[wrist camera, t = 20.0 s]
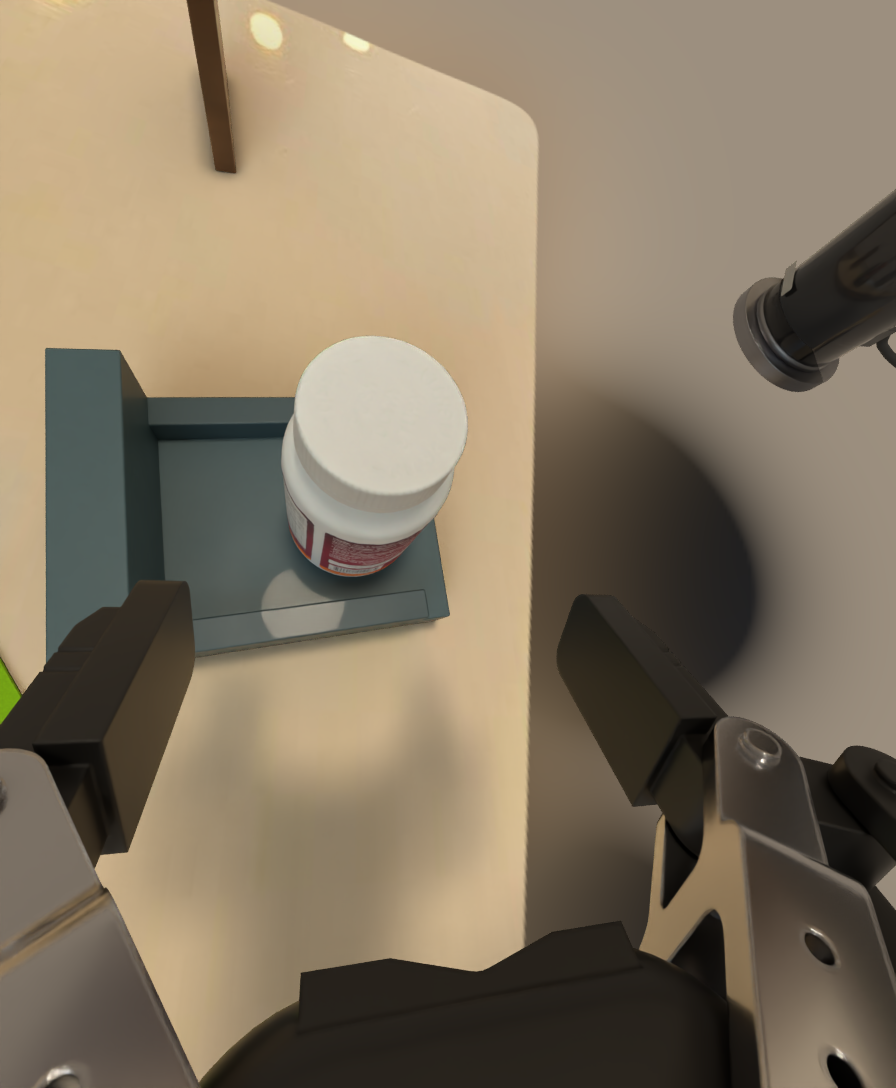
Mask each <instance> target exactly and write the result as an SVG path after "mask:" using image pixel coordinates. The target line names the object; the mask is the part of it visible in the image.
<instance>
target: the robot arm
mask: <svg viewBox="0 0 896 1088" xmlns="http://www.w3.org/2000/svg"><path fill="white" fill-rule="evenodd" d="M796 262H797V261H795V262H794V263H793V264H792V265H791V266H789V267H788V268H787V269H786V271H785V277H784V278H783V279H782V280H780V281H779V282H778V283H777V284H775V285H773V286H771V287H770V288H769V289H768V290H766V291H765V292H764V293H763V294H762V295H761V297H760V298H759V300H758V304H757V320H758V324H759V328H760V330H761V333H762V335H763V337H764V339H765V341H766V342H767V344H768V345H769V347H770V348H771V349H772V351H773V352H774V353H775V354H776V355H777V356H778V357H779V358H780V359H781V360H782V361H784V362H785V363H786V364H788V365H789V366H791V367H793V368H795V369H797V370H800V371H804V372H815V371H818V370H820V369H822V368H824V367H826V366H828V365H829V364H830V363H831V362H832V361H834V360H836V359H838V358H839V357H841V356H843V355H845V354H846V353H848V352H850V351H852V350H854V349H855V348H857V347H859V346H866V347H868V346H871V345H873V344H875V343H876V344H877V348H878V350H879V351H880V352H881V354H882V355H883V357H884V358H885V359H886V360H887V361H888V362H889V363H891V364H892V365H893V366H894V367H895V368H896V353H894V352H893V350H892V349H891V348H890V346H889V345H888V339H889V337H890V335H891V334H893V333H895V332H896V327H895V326H896V189H895V190H894V191H892V192H891V193H890V194H889V195H887V196H886V197H885V198H884V199H882V200H881V201H880V202H879V203H877V204H876V205H875V206H874V207H872V208H871V209H870V210H869V211H868V212H866V213H865V214H864V215H862V216H861V217H860V218H859V219H857V220H856V221H855V222H854V223H852V224H851V225H850V226H848V227H847V228H846V229H845V230H843V231H842V232H841V233H840V234H838V235H837V236H836V237H835V238H833V239H832V240H831V241H830V242H828V243H827V244H826V245H825V246H823V247H822V248H821V249H820V250H818V251H817V252H816V253H815V254H813V255H812V256H811V257H810V258H808V259H807V260H806V261H804V262H803V263H802V264H801V265H799V266H798V267H797V268H795V267H796ZM194 660H195V641H194V630H193V619H192V609H191V598H190V589H189V585H188V583H187V582H186V581H167V580H139V581H138V582H137V583H136V584H135V586H134V587H133V589H132V590H131V592H130V593H129V595H128V597H127V598H126V600H125V601H124V603H123V604H122V606H121V607H101V608H100V609H98V610H97V611H95V612H94V613H92V614H91V615H89V616H88V617H86V618H85V619H83V620H82V621H80V622H79V623H77V624H76V625H75V626H74V627H73V628H72V630H71V631H70V632H69V634H68V635H67V636H66V638H65V639H64V640H63V642H62V643H61V644H60V646H59V647H58V652H54V654H53V655H52V656H51V658H50V659H49V660H48V662H47V663H46V664H45V666H44V670H43V672H39V674H38V675H37V676H36V678H35V679H34V680H33V682H32V683H31V684H30V686H29V687H28V688H27V690H26V691H25V692H24V694H23V695H22V696H21V698H20V699H19V700H18V702H17V703H16V704H15V706H14V707H13V708H12V710H11V711H10V712H9V714H8V715H7V716H6V718H5V719H4V720H3V722H2V723H1V724H0V1088H896V910H895V909H894V908H893V906H891V904H890V903H889V902H888V900H887V899H886V898H885V897H884V896H883V894H882V893H881V892H880V891H879V890H878V888H877V887H876V886H875V885H876V884H877V883H878V882H879V881H880V880H881V879H882V878H883V877H884V876H885V875H886V874H887V873H888V872H889V871H890V870H891V869H892V868H893V867H894V866H895V865H896V759H894V758H893V757H891V756H889V755H887V754H885V753H882V752H880V751H877V750H875V749H871V748H868V747H864V746H850V747H848V748H846V750H844V752H843V753H842V754H841V755H840V757H839V758H838V759H837V761H836V762H835V763H834V764H833V765H832V764H828V763H823V762H819V761H815V760H811V759H806V758H803V757H799V756H798V755H797V754H796V752H795V751H794V750H793V749H792V748H791V747H790V746H789V745H788V744H787V743H786V742H785V741H784V740H783V739H781V738H780V737H779V736H778V735H776V734H775V733H773V732H772V731H770V730H769V729H767V728H765V727H764V726H762V725H759V724H757V723H755V722H753V721H750V720H747V719H744V718H740V717H728V715H727V714H726V713H725V712H724V711H723V710H722V709H721V708H720V706H719V705H718V704H717V703H716V702H715V701H714V700H713V698H712V697H711V696H710V695H709V694H708V693H707V691H706V690H705V689H704V688H703V687H702V686H701V685H700V684H699V682H698V681H697V680H696V679H695V678H694V677H693V676H692V674H691V673H690V672H689V671H688V670H687V669H686V668H685V667H684V666H681V662H680V661H679V660H678V659H677V657H676V656H675V655H674V654H673V653H672V652H669V649H668V647H667V646H666V645H665V644H664V643H663V641H662V640H661V639H660V638H659V637H658V636H657V635H656V634H655V632H653V631H652V630H650V629H649V628H648V627H646V626H645V625H644V624H642V623H641V622H639V621H638V620H636V619H635V618H633V617H632V616H631V615H630V614H629V612H628V611H627V610H626V609H625V608H624V607H623V605H622V604H621V603H620V602H619V601H618V600H617V599H616V598H615V597H614V596H611V595H584V594H581V595H579V596H577V597H576V598H575V600H574V602H573V605H572V607H571V611H570V613H569V616H568V619H567V622H566V625H565V628H564V630H563V633H562V636H561V639H560V642H559V645H558V649H557V667H558V671H559V673H560V676H561V677H562V679H563V681H564V683H565V685H566V686H567V688H568V690H569V692H570V694H571V696H572V697H573V699H574V701H575V703H576V705H577V707H578V708H579V710H580V712H581V714H582V716H583V717H584V719H585V721H586V723H587V725H588V726H589V728H590V730H591V732H592V733H593V736H594V737H595V739H596V741H597V743H598V745H599V746H600V748H601V750H602V752H603V753H604V755H605V757H606V759H607V761H608V763H609V765H610V766H611V768H612V770H613V772H614V774H615V775H616V777H617V779H618V781H619V783H620V784H621V786H622V788H623V790H624V791H625V794H626V795H627V797H628V799H629V801H630V803H631V804H632V806H633V807H635V806H646V805H656V804H658V806H659V808H660V809H661V811H662V815H661V817H660V818H659V820H658V822H657V827H656V837H655V850H654V861H653V873H652V886H651V897H650V909H649V919H648V924H647V928H646V932H645V935H644V938H643V940H642V943H641V946H640V949H639V950H638V949H635V948H632V945H631V943H630V941H629V938H628V936H627V934H626V931H625V929H624V927H623V925H622V922H621V921H617V922H611V923H604V924H598V925H592V926H586V927H580V928H574V929H568V930H561V931H556V932H551V933H549V934H548V935H546V936H544V937H543V938H541V939H539V940H538V941H536V942H534V943H532V944H530V945H529V946H527V947H525V948H523V949H521V950H520V951H518V952H516V953H514V954H513V955H511V956H509V957H507V958H506V959H504V960H502V961H500V962H499V963H497V964H495V965H493V966H492V967H490V968H488V969H486V970H483V971H478V972H475V971H466V970H460V969H454V968H447V967H441V966H435V965H429V964H422V963H416V962H410V961H404V960H398V959H391V958H389V959H383V960H377V961H371V962H364V963H358V964H352V965H346V966H340V967H334V968H327V969H321V970H315V971H309V972H303V973H301V978H300V995H299V1001H297V1002H295V1003H293V1004H292V1005H290V1006H288V1007H286V1008H284V1009H282V1010H280V1011H278V1012H276V1013H275V1014H274V1015H272V1016H271V1017H269V1018H268V1019H266V1020H265V1021H263V1022H262V1023H260V1024H259V1025H258V1026H256V1027H255V1028H253V1029H252V1030H251V1031H250V1032H249V1033H247V1034H246V1035H245V1036H244V1037H243V1038H242V1039H240V1040H239V1041H238V1042H237V1043H236V1044H235V1045H233V1046H232V1047H231V1048H230V1049H229V1050H228V1051H227V1052H226V1053H225V1054H224V1055H223V1056H222V1057H221V1058H220V1059H219V1061H218V1062H217V1063H216V1064H215V1065H214V1066H213V1067H212V1068H211V1069H210V1070H209V1071H208V1072H207V1073H206V1074H205V1076H204V1077H203V1078H202V1079H201V1081H200V1082H199V1083H198V1080H197V1078H196V1076H195V1074H194V1072H193V1070H192V1067H191V1065H190V1063H189V1061H188V1059H187V1057H186V1054H185V1052H184V1050H183V1048H182V1046H181V1044H180V1041H179V1039H178V1037H177V1035H176V1033H175V1031H174V1028H173V1026H172V1024H171V1022H170V1020H169V1018H168V1015H167V1013H166V1011H165V1009H164V1007H163V1005H162V1002H161V1000H160V998H159V996H158V994H157V992H156V990H155V987H154V985H153V983H152V981H151V979H150V977H149V974H148V972H147V970H146V968H145V966H144V964H143V961H142V959H141V957H140V955H139V953H138V951H137V948H136V946H135V944H134V942H133V940H132V938H131V935H130V933H129V931H128V929H127V927H126V925H125V922H124V920H123V918H122V916H121V914H120V912H119V909H118V907H117V905H116V903H115V901H114V899H113V897H112V896H111V894H110V892H109V890H108V889H107V888H103V886H102V884H101V882H100V880H99V878H98V876H97V874H96V872H95V867H96V864H97V862H98V859H99V857H100V855H104V854H115V853H125V852H128V850H129V848H130V845H131V842H132V839H133V837H134V834H135V831H136V828H137V826H138V823H139V820H140V817H141V815H142V812H143V809H144V806H145V804H146V801H147V798H148V795H149V793H150V790H151V787H152V784H153V782H154V779H155V776H156V773H157V771H158V768H159V765H160V762H161V760H162V757H163V754H164V751H165V749H166V746H167V743H168V740H169V738H170V735H171V732H172V729H173V727H174V724H175V721H176V718H177V716H178V713H179V710H180V707H181V705H182V702H183V699H184V696H185V694H186V691H187V688H188V685H189V683H190V680H191V677H192V672H193V667H194Z"/></svg>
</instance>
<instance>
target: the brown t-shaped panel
mask: <svg viewBox="0 0 896 1088" xmlns="http://www.w3.org/2000/svg"><path fill="white" fill-rule="evenodd" d="M187 5H188V11H189V17H190V23H191V29H192V35H193V41H194V47H195V52H196V58H197V64H198V70H199V76H200V82H201V88H202V94H203V99H204V105H205V111H206V117H207V123H208V129H209V135H210V141H211V146H212V152H213V158H214V164H215V169H216V170H217V171H224V172H232V173H236V167H235V156H234V146H233V135H232V125H231V114H230V104H229V94H228V83H227V73H226V65H225V57H224V49H223V41H222V33H221V25H220V17H219V9H218V1H217V0H187Z"/></svg>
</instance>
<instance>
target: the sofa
mask: <svg viewBox="0 0 896 1088" xmlns="http://www.w3.org/2000/svg"><path fill="white" fill-rule="evenodd" d="M294 403H295V397H159V398H147V397H146V395H145V393H144V392H143V390H142V388H141V386H140V385H139V383H138V381H137V379H136V378H135V376H134V374H133V372H132V371H131V369H130V367H129V365H128V364H127V362H126V360H125V358H124V357H123V355H122V353H121V351H120V350H99V349H61V348H46V349H45V429H46V663H47V662H48V660H49V659H50V658H51V656H52V655H53V654H54V652H58V647H59V646H60V644H61V643H62V642H63V640H64V639H65V638H66V636H67V635H68V634H69V632H70V631H71V630H72V628H73V627H74V626H75V625H76V624H77V623H79V622H80V621H82V620H83V619H85V618H86V617H88V616H89V615H91V614H92V613H94V612H95V611H97V610H98V609H100V608H101V607H121V606H122V604H123V603H124V601H125V600H126V598H127V597H128V595H129V593H130V592H131V590H132V589H133V587H134V586H135V584H136V583H137V582H138V581H139V580H167V581H186V582H187V583H188V585H189V589H190V598H191V609H192V619H193V630H194V641H195V658H196V657H202V656H209V655H215V654H222V653H228V652H235V651H241V650H248V649H254V648H261V647H267V646H274V645H280V644H287V643H293V642H300V641H306V640H313V639H319V638H326V637H332V636H339V635H345V634H352V633H358V632H365V631H371V630H378V629H384V628H391V627H397V626H404V625H410V624H417V623H423V622H430V621H435V620H438V619H441V618H444V617H448V616H449V615H450V613H449V607H448V601H447V595H446V588H445V582H444V576H443V570H442V564H441V558H440V552H439V546H438V540H437V534H436V528H435V521H434V518H433V519H432V520H431V521H430V522H429V523H428V525H427V526H426V527H425V528H424V529H423V530H422V531H421V532H420V533H419V534H418V535H417V537H416V538H415V539H414V540H413V541H412V542H411V544H410V545H409V546H408V547H407V548H406V549H405V550H404V551H403V553H402V554H401V555H400V556H399V557H398V558H397V559H396V560H395V561H394V562H392V563H391V564H390V565H388V566H387V567H385V568H383V569H382V570H380V571H378V572H375V573H372V574H369V575H365V576H358V577H346V576H339V575H334V574H332V573H329V572H326V571H324V570H322V569H320V568H319V567H317V566H316V565H314V564H313V563H311V562H310V561H309V560H308V559H307V558H306V557H305V556H304V555H303V554H302V553H301V551H300V550H299V549H298V547H297V545H296V544H295V542H294V540H293V538H292V535H291V532H290V528H289V523H288V518H287V509H286V500H285V490H284V481H283V473H282V469H281V456H282V444H283V438H284V434H285V431H286V428H287V425H288V423H289V421H290V419H291V417H292V416H293V414H294Z"/></svg>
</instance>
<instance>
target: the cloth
mask: <svg viewBox="0 0 896 1088" xmlns="http://www.w3.org/2000/svg"><path fill="white" fill-rule="evenodd" d="M21 696H22V695H21V693H20V691H19V690H18V688H17V686H16V684H15V683H14V681H13V679H12V678H11V676H10V674H9V672H8V670H7V669H6V667H5V665H4V663H3V662H2V660H1V658H0V724H1V723H2V722H3V720H4V719H5V718H6V716H7V715H8V714H9V712H10V711H11V710H12V708H13V707H14V706H15V704H16V703H17V702H18V700H19V699H20V698H21Z"/></svg>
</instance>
